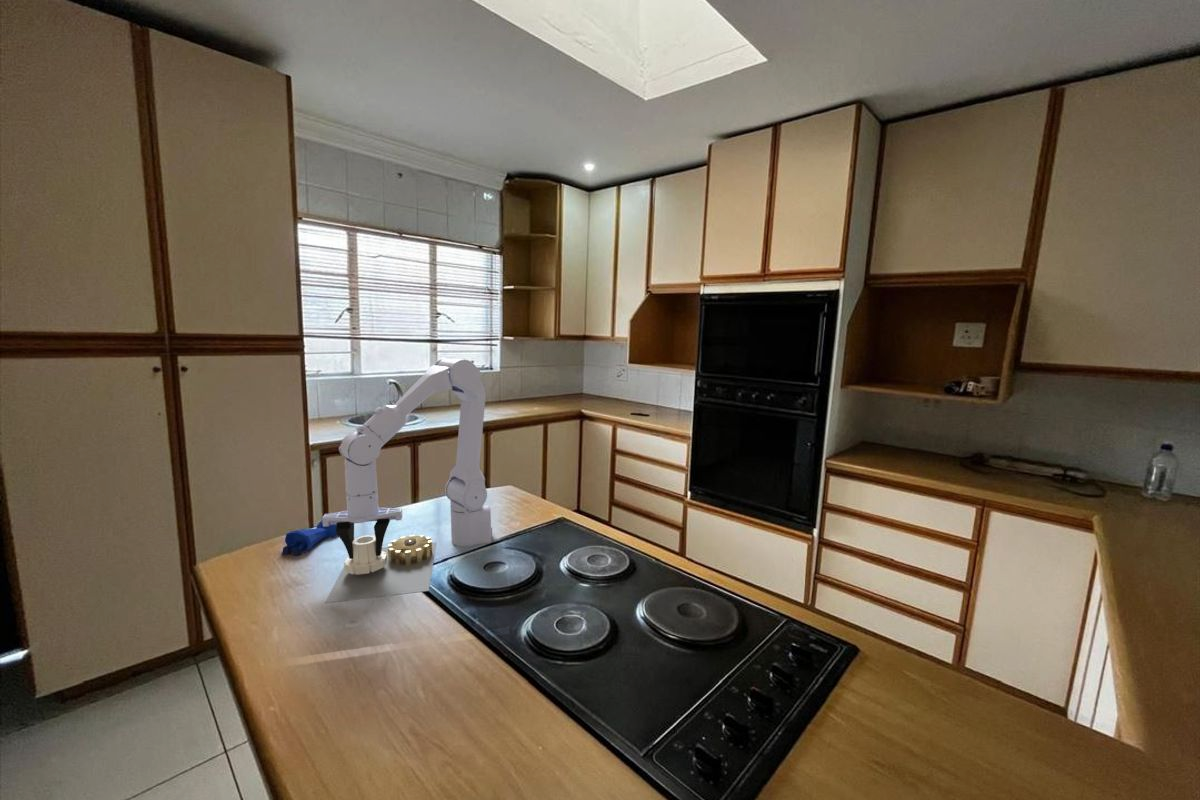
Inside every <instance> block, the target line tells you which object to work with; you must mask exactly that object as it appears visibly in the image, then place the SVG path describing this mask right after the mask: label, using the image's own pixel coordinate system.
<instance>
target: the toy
mask: <svg viewBox="0 0 1200 800" xmlns="http://www.w3.org/2000/svg"><path fill="white" fill-rule="evenodd" d="M336 526H337V524H334V525H329V526H324V527H323V520H322V519H321V520H320V522H318V523H317V525H316V528H307V529H306V528H305V529H299V530H298V529H297V530H291V531H289V532H287V533H286V534H285V538H284V542H285V544H286V545H285V546H284V547H283V548H282V553H281V555H284V556H285V555H286V556H287V555H289V554H291V553H292V555H293V557H294V556H295V557H299V556H301V555H302V552H303V553H306V552H309V551H310V549H312V547H314V546H315V544H317V543H318V542H320V541H321V540H322V539H325V538H327V539H329V538H335V537H339V536H338V535H337V534H336V531H335V529H336Z"/></svg>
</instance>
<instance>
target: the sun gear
mask: <svg viewBox="0 0 1200 800" xmlns="http://www.w3.org/2000/svg"><path fill="white" fill-rule="evenodd" d="M432 543H433V540H432V538H431V537H430V536H426V535H424V534H420V535H416V534H410V535H409V536H404V535H403V536H401V537H399V538H398V539H393V540H391V543H390V544H389V543H388V545H387V547H388V558H389V562H390V563H394V562H395V565H398V566H400V565H401V564H406V566H409V565H411V564H412V563H417V564H419V563H422V560H424V559H425V560H428V559H429V558H430V555H432Z"/></svg>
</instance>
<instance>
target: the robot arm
mask: <svg viewBox="0 0 1200 800" xmlns="http://www.w3.org/2000/svg"><path fill="white" fill-rule="evenodd" d="M448 390H451V391H452V392H453V393H454V395H456V396H457V398H459V399H460V410H459V411H460V413H459V422H458V435H457V448H456V449H457V450H456V459H455V466H454V467H453V468H452V469H451V470H450V471H449V478H448V480H447V482H446V484H445V487H444V494H445V496H446V498H447V499H448V500H449V501H450V502H449V503H450V505H449V506H450V532H451V533H450V534H451V535H450V537H451V543H452V545H454V546H458V547H470V546H475V545H481V544H490V543H492V536H493V527H492V516H491V515H492V513H491V511H492V510H491V505H490V504H485V503H486V502H487V498H488V490H487V488H486V478H485V476H484V473H483V472H482V470H481V468H480V465H481V463H480V462H481V454H482V440H483V432H484V430H483V429H484V419H485V407H486V390H485V387H484V385H483V382H482V379H481V370H480V368H478V367H477V366H476V365H475V364H474V362H472V361H470V360H468V359H456V358H450V357H442V358H440V359H437V361H436V362H435V364H433V365H431V366H429V367H428V368H427V370H426V371H425V372H424V373H423V375H422V376H420V378H419V379H418V380H417V381H415V383H414V384H413V385H412V386H411V387H410V388H409V389H408V390H407V391H406V392H405V393H404V394H403V395H402V396H401V397H400V398H399V399H398V400H397V401H396V402H395V403H394V404H392V405H390V404H386V405H383V406H382V407H378V406H377V407H376V408H375V409H374V410H373V412H374V414H373V415H372V416H371V417H370V418H368V419H367V421H365V422H364V423H363V424H362V425H358V426H356V428H355V430H356V431H354V432H350V433H348V434H347V435H345V436H344V437H343V439H341V443H340V446H339V447H338V451H339V453H340V455H341V456H342V457H343V458H344V479H345V480H344V483H345V495H346V499H345V500H346V510H342V511H338V512H337V511H336V512H331V513H324V515H323V516H322V517H321V518H322V519H321V520H323V527H324V526H329V525H334V524H337V526H336V529H335V531H336V534H337V535H338V536H337V537H338V538H339V539H340V540H341V542H342V543H343V545H344V547H345V549H346V552H347V555H348V557H349V559H353V548H352V542H353V540H354V539H355V524H364V523H369V522H370V523H371V522H375V524H374V526H373V531H374V536H375V538H376V556H380V555H381V552H382V547H383V543H384V538H385V535H386V532H387V529H388V527H389V524H390V522H391V521H396V522H397V521H402V519H403V508H402V507H398V508H397V507H396V508H394V507H393V508H392V507H379V495H378V494H379V493H378V492H379V491H378V490H379V489H378V476H377V475H378V474H377V473H378V472H377V464H376V463H377V462H376V460H377V459H378V458H379V456H380V454H381V449H382V447H384V445H386V443H388V442H389V441H390V440H391V439H392V438H393V437H394V436H395V435H396V434H397V433H398V432H400V431H401V430H402V428H404V426H406V422H407V416H408V415H409V414H410V413H411V412H412V411H414V410H415V409H416V408H417V407H419V406H420V405H421V404H422V403H423V402H424V401H425V400H427V399H428V398H429V397H430V396H432V395H433V394H434V393H435V392H439V391H440V392H441V391H448Z"/></svg>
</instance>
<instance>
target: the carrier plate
mask: <svg viewBox="0 0 1200 800" xmlns="http://www.w3.org/2000/svg"><path fill="white" fill-rule="evenodd" d="M436 548H437V542H432V555H430V558H429V559H428V560H425V559H424V560H422V563H419V564H417V563H412V564H411V565H409V566H406V564H401V565H400V566H398V565H395V562H394V563H390V562H389V558H388V546H386V547H385V546H382V551H383V552H386V554H387V562H386V565H385V566H384V567H383V568H381V569H379V570H377V571H374V572H370V573H367V574H358V575H356V574H350V573H348V572H346V571H345V568H344V567H343V568H342V569H341V571H340V573H339V576H337V579H336V581H335V582H334V584H333V587H332V588H331V590H330V592H329V594H328V596H327V598H326V600H325V602H324V604H330V603H339V602H340V603H341V602H346V601H348V602H349V601H356V600H362V599H363V600H365V599H371V598H380V597H388V596H389V597H390V596H398V595H405V594H406V595H407V594H414V593H422V592H424V593H425V592H429V591H430V586H431V585H430V584H431V579H432V573H433V567H434V561H435V555H436Z"/></svg>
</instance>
